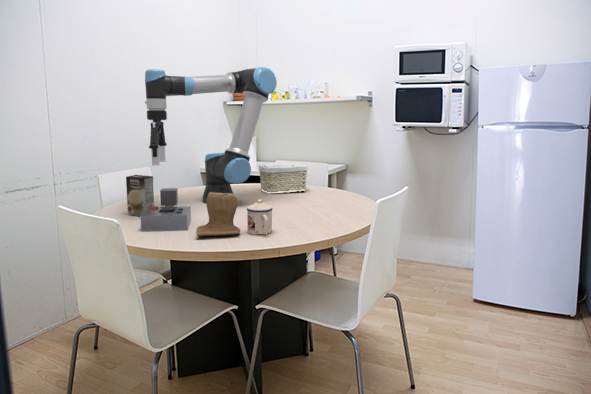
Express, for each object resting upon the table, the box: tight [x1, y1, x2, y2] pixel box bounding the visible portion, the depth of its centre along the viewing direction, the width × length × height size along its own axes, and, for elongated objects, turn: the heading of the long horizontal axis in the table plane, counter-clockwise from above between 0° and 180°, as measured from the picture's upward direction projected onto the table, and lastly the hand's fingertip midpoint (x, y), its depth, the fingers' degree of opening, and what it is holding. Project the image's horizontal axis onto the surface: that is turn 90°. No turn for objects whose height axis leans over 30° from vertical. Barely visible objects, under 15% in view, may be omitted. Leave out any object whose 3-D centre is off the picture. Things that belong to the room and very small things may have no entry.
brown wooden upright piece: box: [195, 192, 241, 237], centre depth 157 cm, size 15×12×15 cm
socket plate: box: [140, 205, 192, 232], centre depth 170 cm, size 16×16×6 cm
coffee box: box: [125, 174, 155, 217], centre depth 186 cm, size 9×6×16 cm
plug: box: [159, 187, 179, 207], centre depth 185 cm, size 6×6×11 cm
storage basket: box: [258, 162, 308, 192], centre depth 246 cm, size 24×16×15 cm
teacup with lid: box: [246, 199, 273, 235], centre depth 160 cm, size 12×9×12 cm
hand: (159, 163), depth 183 cm, fingers open, 13 cm apart
